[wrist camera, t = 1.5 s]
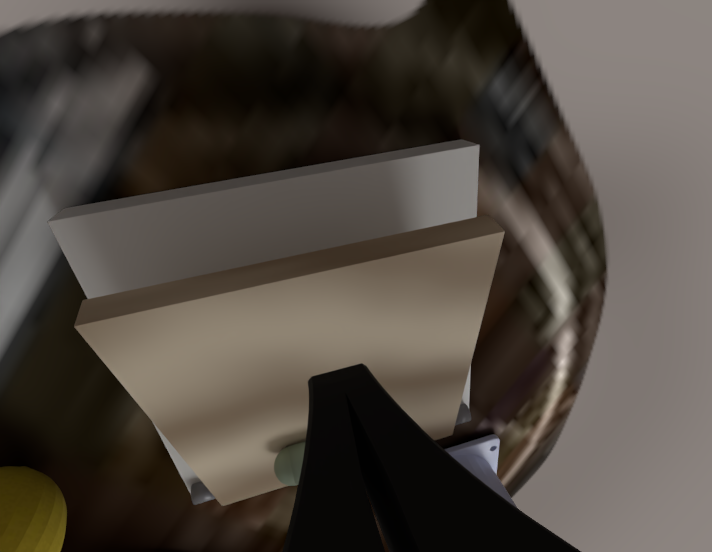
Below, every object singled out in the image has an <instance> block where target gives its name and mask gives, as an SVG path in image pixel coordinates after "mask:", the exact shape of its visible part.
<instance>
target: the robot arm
mask: <svg viewBox="0 0 712 552" xmlns="http://www.w3.org/2000/svg"><path fill="white" fill-rule="evenodd" d="M308 388H309V413H308V425H307V434H306V441H305V449H304V456H303V463H302V468H301V473H300V478H299V483H298V488H297V494H296V499H295V504H294V508H293V512H292V516H291V521H290V525H289V529H288V533H287V537H286V541H285V544H284V548H283V552H385V550H384V547H383V544H382V541H381V537H380V534H379V531H378V528H377V525H376V522H375V519H374V515H373V512H372V509H371V506H370V503H369V500H368V497H367V494H368V496H369V499H370V501H371V504H372V507H373V509H374V512H375V515H376V517H377V520H378V522H379V525H380V528H381V530H382V533H383V535H384V538H385V541H386V543H387V546H388V549H389V551H390V552H580V551H579V550H578V549H576V548H575V547H573V546H572V545H570V544H569V543H567V542H566V541H564V540H563V539H561V538H560V537H558V536H557V535H555V534H554V533H552V532H551V531H549V530H548V529H546V528H545V527H543V526H542V525H540V524H539V523H538V522H536V521H534V520H533V519H532V518H530V517H529V516H527V515H526V514H524V513H523V512H522V511H520V510H519V509H518V508H517V507H516V505H515V504H514V502H513V500H512V499H511V497H510V496H509V494H508V492H507V491H506V489H505V488H504V486H503V485H502V483H501V481H500V480H499V478H498V477H497V475H496V474H497V464H498V454H499V444H500V440H499V438H498V437H497V436H496V435H494V434H493V435H489V436H485V437H482V438H479V439H476V440H473V441H469V442H466V443H463V444H460V445H457V446H454V447H450V448H447V449H443V448H442V447H441V446H440V445H439V444H438V443H436V442H435V441H434V440H433V439H432V438H431V437H430V436H429V435H428V434H427V433H426V432H425V431H424V430H423V429H422V428H421V427H420V426H419V425H418V424H417V423H416V422H415V421H414V420H413V419H412V418H411V417H410V416H409V415H408V414H407V413H406V412H405V411H404V410H403V409H402V408H401V407H400V406H399V405H398V404H397V403H396V402H395V400H394V399H393V398H392V397H391V396H390V395H389V394H388V393H387V391H386V390H385V389H384V388H383V387H382V386H381V384H380V383H379V382H378V381H377V379H376V378H375V377H374V376H373V374H372V373H371V372H370V370H369V369H368V367H367V366H366V365H364V364H362V363H361V364H357V365H353V366H349V367H346V368H342V369H338V370H334V371H331V372H327V373H323V374H319V375H315V376H312V377H311V378H310V379H309V380H308ZM365 488H366V489H365ZM366 491H367V493H366Z"/></svg>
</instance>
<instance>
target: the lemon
mask: <svg viewBox="0 0 712 552" xmlns="http://www.w3.org/2000/svg"><path fill="white" fill-rule="evenodd" d="M66 519H67V509H66V503H65V500H64V497H63V495H62V492H61V490H60V489H59V487H58V486H57V485H56V483H55V482H54V481H53V480H52V479H51V478H50V477H48V476H47V475H45V474H43V473H42V472H39V471H36V470H34V469H31V468H29V467H26V466H21V467H15V466H6V467H0V552H60V551H61V548H62V545H63V541H64V537H65V531H66Z"/></svg>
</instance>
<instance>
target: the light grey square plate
mask: <svg viewBox="0 0 712 552" xmlns="http://www.w3.org/2000/svg"><path fill="white" fill-rule="evenodd" d="M478 168H479V145H478V144H475V143H472V142H468V141H465V140H462V139H461V140H455V141H449V142H443V143H438V144H432V145H426V146H420V147H415V148H409V149H403V150H397V151H392V152H386V153H380V154H374V155H368V156H363V157H357V158H351V159H345V160H340V161H334V162H328V163H322V164H317V165H311V166H305V167H299V168H294V169H288V170H282V171H276V172H271V173H265V174H259V175H253V176H247V177H242V178H236V179H230V180H224V181H219V182H213V183H207V184H201V185H196V186H190V187H184V188H178V189H173V190H167V191H161V192H155V193H149V194H144V195H138V196H132V197H126V198H121V199H115V200H109V201H103V202H98V203H92V204H86V205H80V206H75V207H69V208H64V209H63V210H61V211H60V212H59V213H58V214H56V215H55V216H54V217H53V218H51V219H50V220H49V221H47V222H48V224H49V226H50V228H51V230H52V232H53V234H54V236H55V237H56V239H57V241H58V243H59V245H60V247H61V249H62V251H63V253H64V255H65V256H66V258H67V260H68V262H69V264H70V266H71V268H72V270H73V272H74V274H75V275H76V277H77V279H78V281H79V283H80V285H81V287H82V289H83V291H84V293H85V294H86V296H87V298H88V299H91V298H96V297H100V296H105V295H110V294H115V293H119V292H124V291H129V290H134V289H138V288H143V287H148V286H153V285H157V284H162V283H167V282H172V281H176V280H181V279H186V278H190V277H195V276H200V275H205V274H209V273H214V272H219V271H224V270H228V269H233V268H238V267H243V266H247V265H252V264H257V263H262V262H266V261H271V260H276V259H281V258H285V257H290V256H295V255H299V254H304V253H309V252H314V251H318V250H323V249H328V248H333V247H337V246H342V245H347V244H352V243H356V242H361V241H366V240H371V239H375V238H380V237H385V236H390V235H394V234H399V233H404V232H408V231H413V230H418V229H423V228H427V227H432V226H437V225H442V224H446V223H451V222H456V221H461V220H465V219H470V218H475V217H477V193H478ZM470 371H471V365H470V369H469V372H468V376H467V380H466V384H465V388H464V392H463V396H462V400H461V404H460V407H459V411H458V415H457V419H456V423H455V425H458V424H461V423H465V422H468V421H471V413H470V410H469V396H470ZM153 424H154V423H153ZM154 426H155V427H156V429H157V431H158V433H159V435H160V437H161V439H162V441H163V443H164V445H165V446H166V448H167V450H168V452H169V454H170V456H171V458H172V460H173V462H174V464H175V466H176V467H177V469H178V471H179V473H180V475H181V477H182V479H183V481H184V483H185V485H186V486H187V488H188V490H189V492H190V494H191V499H192V502H193V504H194V505H196V504H199V503H202V502H206V501H209V500H212V499H215V497H214V496H213V494H212V493H211V492H210V491H209V489H208V488H207V487H206V486H205V485H204V483H203V482H202V481H201V480H200V479H199V477H198V476H197V475H196V474H195V473H194V471H193V470H192V469H191V468H190V466H189V465H188V464H187V463H186V462H185V460H184V459H183V458H182V457H181V456H180V454H179V453H178V452H177V451H176V449H175V448H174V447H173V446H172V445H171V443H170V442H169V441H168V440H167V439H166V437H165V436H164V435H163V434H162V432H161V431H160V430H159V429H158V428H157V426H156V425H155V424H154Z"/></svg>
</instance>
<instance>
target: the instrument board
mask: <svg viewBox="0 0 712 552" xmlns="http://www.w3.org/2000/svg"><path fill="white" fill-rule="evenodd" d="M504 233H505V231H504V230H503V229H502V228H501V227H500V226H499V225H498V224H497V223H496V222H495V221H494V220H493V219H492V217H491V216H490V215H484V216H480V217H475V218H470V219H465V220H461V221H456V222H451V223H446V224H442V225H437V226H432V227H427V228H423V229H418V230H413V231H408V232H404V233H399V234H394V235H390V236H385V237H380V238H375V239H371V240H366V241H361V242H356V243H352V244H347V245H342V246H337V247H333V248H328V249H323V250H318V251H314V252H309V253H304V254H299V255H295V256H290V257H285V258H281V259H276V260H271V261H266V262H262V263H257V264H252V265H247V266H243V267H238V268H233V269H228V270H224V271H219V272H214V273H209V274H205V275H200V276H195V277H190V278H186V279H181V280H176V281H172V282H167V283H162V284H157V285H153V286H148V287H143V288H138V289H134V290H129V291H124V292H119V293H115V294H110V295H105V296H100V297H96V298H91V299H86V300H83V301H82V304H81V307H80V310H79V313H78V316H77V319H76V322H75V325H74V327H75V328H76V329H77V331H78V332H79V333H80V334H81V335H82V337H83V338H84V339H85V340H86V341H87V343H88V344H89V345H90V346H91V348H92V349H93V350H94V351H95V352H96V354H97V355H98V356H99V357H100V358H101V360H102V361H103V362H104V363H105V365H106V366H107V367H108V368H109V369H110V371H111V372H112V373H113V374H114V375H115V377H116V378H117V379H118V380H119V381H120V383H121V384H122V385H123V386H124V388H125V389H126V390H127V391H128V392H129V394H130V395H131V396H132V397H133V398H134V400H135V401H136V402H137V403H138V405H139V406H140V407H141V408H142V409H143V411H144V412H145V413H146V414H147V415H148V417H149V418H150V419H151V420H152V422H153V423H154V424H155V425H156V426H157V428H158V429H159V430H160V431H161V432H162V434H163V435H164V436H165V437H166V439H167V440H168V441H169V442H170V443H171V445H172V446H173V447H174V448H175V449H176V451H177V452H178V453H179V454H180V456H181V457H182V458H183V459H184V460H185V462H186V463H187V464H188V465H189V466H190V468H191V469H192V470H193V471H194V473H195V474H196V475H197V476H198V477H199V479H200V480H201V481H202V482H203V483H204V485H205V486H206V487H207V488H208V489H209V491H210V492H211V493H212V494H213V496H214V497H215V498H216V499H217V500H218V502H219V503H220V504H221V505H222V506H224V505H227V504H230V503H234V502H237V501H240V500H243V499H247V498H250V497H253V496H256V495H260V494H263V493H266V492H269V491H272V490H276V489H279V488H282V487H285V486H294V485H298V483H299V478H300V473H301V468H302V463H303V456H304V449H305V441H306V434H307V425H308V413H309V388H308V380H309V379H310V378H311V377H312V376H315V375H319V374H323V373H327V372H331V371H334V370H338V369H342V368H346V367H349V366H353V365H357V364H361V363H362V364H364V365H366V366H367V367H368V369H369V370H370V372H371V373H372V374H373V376H374V377H375V378H376V379H377V381H378V382H379V383H380V384H381V386H382V387H383V388H384V389H385V390H386V391H387V393H388V394H389V395H390V396H391V397H392V398H393V399H394V400H395V402H396V403H397V404H398V405H399V406H400V407H401V408H402V409H403V410H404V411H405V412H406V413H407V414H408V415H409V416H410V417H411V418H412V419H413V420H414V421H415V422H416V423H417V424H418V425H419V426H420V427H421V428H422V429H423V430H424V431H425V432H426V433H427V434H428V435H429V436H430V437H431V438H432V439H433V440H437V439H441V438H444V437H447V436H450V435H453V431H454V427H455V423H456V419H457V415H458V411H459V407H460V404H461V400H462V396H463V392H464V388H465V384H466V380H467V376H468V372H469V369H470V365H471V361H472V357H473V353H474V349H475V345H476V341H477V338H478V334H479V330H480V326H481V322H482V318H483V314H484V310H485V306H486V303H487V299H488V295H489V291H490V287H491V283H492V279H493V275H494V272H495V268H496V264H497V260H498V256H499V252H500V248H501V244H502V241H503V237H504Z"/></svg>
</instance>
